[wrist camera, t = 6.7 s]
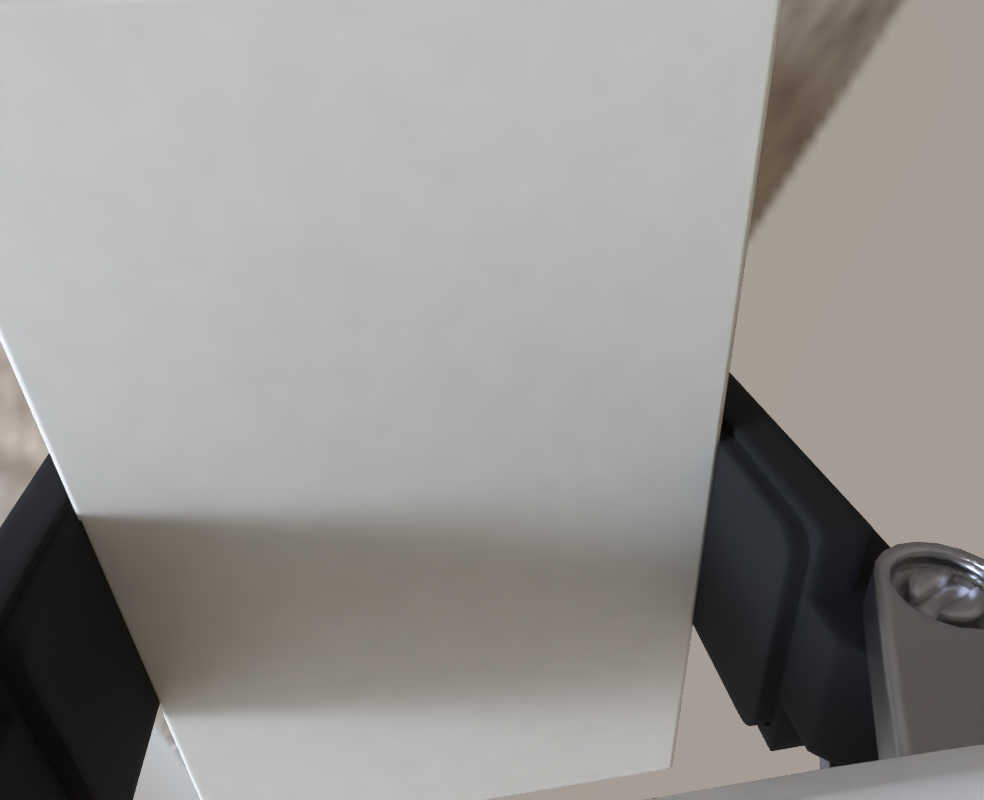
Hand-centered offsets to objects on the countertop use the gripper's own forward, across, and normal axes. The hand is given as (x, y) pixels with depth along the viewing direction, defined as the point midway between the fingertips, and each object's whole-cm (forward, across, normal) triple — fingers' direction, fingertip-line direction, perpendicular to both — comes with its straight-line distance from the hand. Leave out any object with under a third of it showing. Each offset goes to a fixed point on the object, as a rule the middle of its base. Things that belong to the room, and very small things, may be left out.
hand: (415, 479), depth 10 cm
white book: (0, 0, -1) cm, 1 cm away
